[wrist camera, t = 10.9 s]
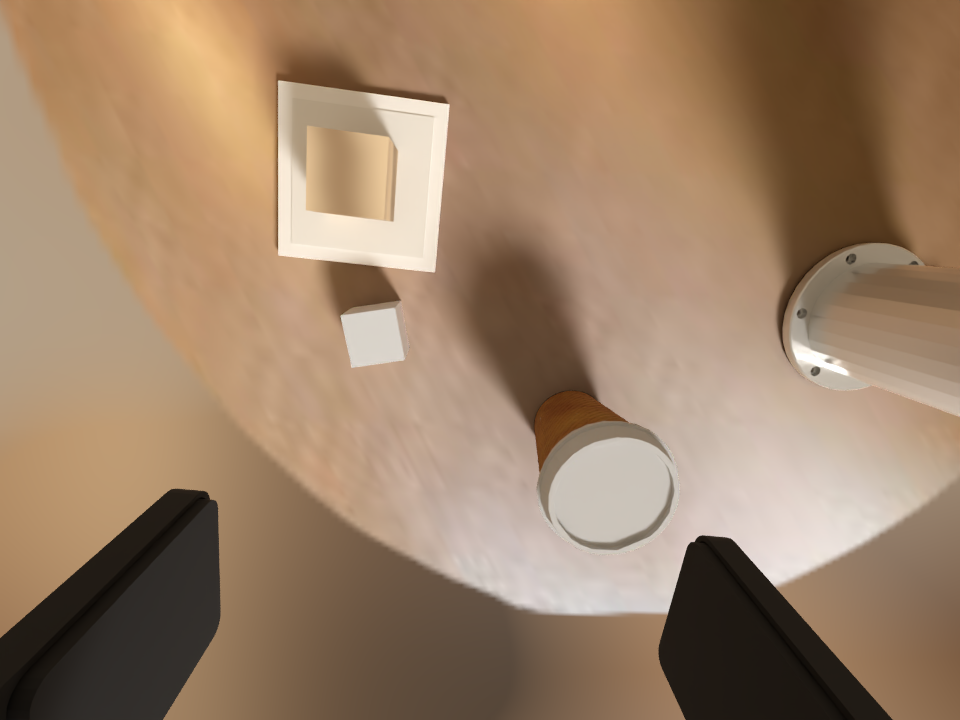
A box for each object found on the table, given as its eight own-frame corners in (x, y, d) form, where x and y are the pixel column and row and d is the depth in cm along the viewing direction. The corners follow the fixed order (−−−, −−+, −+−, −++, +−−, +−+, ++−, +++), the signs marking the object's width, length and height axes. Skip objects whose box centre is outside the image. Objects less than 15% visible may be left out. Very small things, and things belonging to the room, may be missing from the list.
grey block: (401, 300, 37) (394, 307, 33) (409, 347, 38) (404, 360, 34) (352, 307, 37) (340, 315, 33) (362, 354, 38) (351, 367, 34)
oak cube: (398, 150, 33) (388, 136, 29) (393, 221, 35) (383, 219, 30) (328, 141, 33) (306, 125, 28) (326, 213, 34) (305, 210, 29)
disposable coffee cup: (510, 468, 42) (532, 558, 30) (522, 368, 39) (551, 425, 28) (612, 474, 42) (671, 564, 31) (630, 376, 40) (702, 434, 28)
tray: (449, 106, 33) (449, 103, 33) (435, 271, 36) (434, 272, 36) (281, 82, 32) (277, 79, 32) (281, 255, 36) (277, 255, 35)
